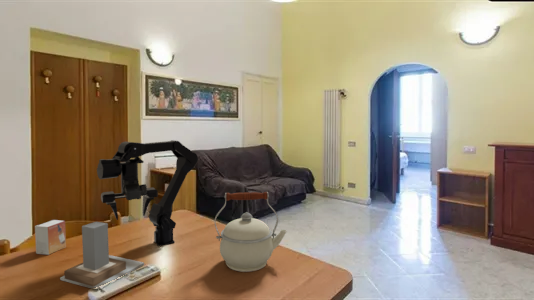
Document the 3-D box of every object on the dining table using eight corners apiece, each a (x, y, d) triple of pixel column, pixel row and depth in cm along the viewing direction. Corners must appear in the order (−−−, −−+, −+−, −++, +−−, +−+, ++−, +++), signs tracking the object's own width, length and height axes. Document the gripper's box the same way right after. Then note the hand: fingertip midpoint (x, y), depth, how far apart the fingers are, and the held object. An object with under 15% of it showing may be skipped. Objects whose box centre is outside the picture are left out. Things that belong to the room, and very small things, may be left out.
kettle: (214, 277, 99) (214, 199, 97) (214, 253, 117) (214, 187, 115) (292, 272, 103) (293, 197, 101) (281, 250, 121) (281, 186, 119)
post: (97, 260, 102) (96, 221, 101) (108, 263, 100) (107, 223, 99) (83, 267, 98) (81, 226, 97) (95, 270, 96) (93, 228, 95)
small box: (48, 255, 114) (47, 227, 114) (35, 254, 116) (34, 225, 115) (66, 247, 122) (65, 220, 121) (54, 245, 123) (53, 219, 123)
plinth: (109, 257, 113) (108, 247, 113) (144, 264, 108) (144, 254, 107) (60, 280, 97) (59, 268, 96) (98, 290, 91) (98, 278, 91)
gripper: (103, 181, 104) (105, 228, 106) (161, 177, 115) (162, 219, 116) (100, 176, 114) (101, 219, 115) (153, 172, 124) (154, 212, 125)
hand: (130, 217), depth 117 cm, fingers open, 9 cm apart
